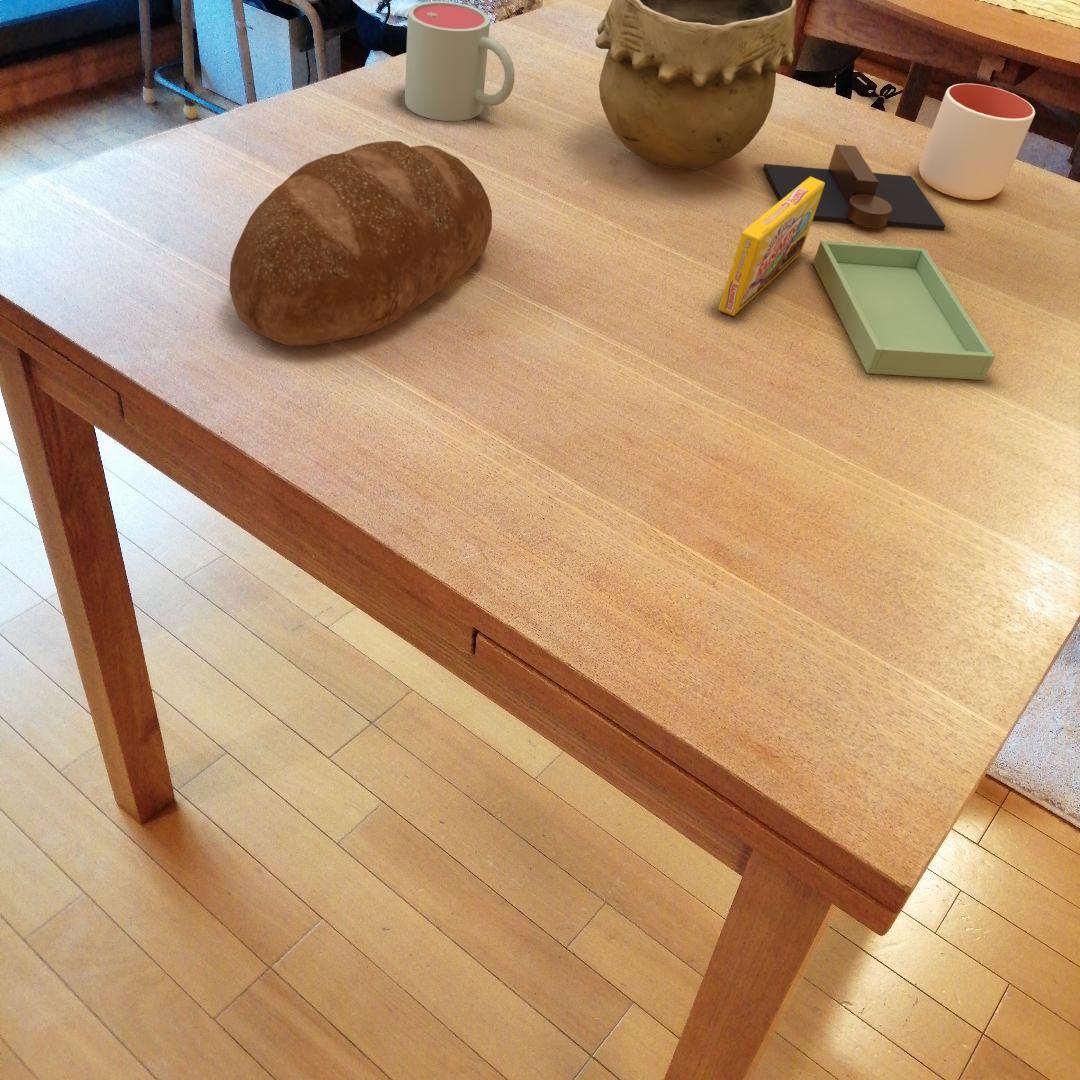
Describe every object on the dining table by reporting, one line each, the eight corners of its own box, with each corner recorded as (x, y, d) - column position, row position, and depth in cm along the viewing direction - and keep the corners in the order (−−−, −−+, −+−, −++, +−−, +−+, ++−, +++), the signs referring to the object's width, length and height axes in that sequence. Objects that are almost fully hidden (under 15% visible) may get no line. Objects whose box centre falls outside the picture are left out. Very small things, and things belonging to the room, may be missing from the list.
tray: (916, 270, 113) (925, 248, 111) (984, 380, 99) (995, 356, 97) (812, 263, 111) (820, 240, 109) (867, 373, 97) (876, 349, 96)
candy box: (736, 320, 101) (759, 239, 96) (716, 311, 102) (737, 230, 96) (803, 256, 112) (827, 180, 106) (784, 249, 113) (807, 173, 107)
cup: (1016, 196, 129) (1053, 112, 122) (962, 210, 125) (998, 125, 118) (951, 160, 135) (983, 78, 128) (898, 173, 130) (928, 89, 123)
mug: (388, 103, 127) (391, 13, 120) (435, 82, 133) (439, -5, 127) (486, 141, 123) (494, 50, 116) (529, 117, 129) (539, 29, 122)
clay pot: (723, 224, 115) (773, 27, 101) (547, 162, 121) (572, -32, 107) (786, 159, 129) (837, -22, 116) (625, 106, 135) (656, -72, 121)
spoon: (856, 171, 128) (864, 146, 125) (892, 229, 118) (902, 203, 116) (818, 168, 127) (826, 143, 125) (852, 226, 117) (861, 200, 115)
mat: (909, 180, 129) (911, 175, 128) (943, 230, 120) (945, 225, 120) (762, 168, 126) (764, 163, 126) (787, 218, 118) (788, 213, 117)
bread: (187, 312, 92) (172, 185, 84) (397, 195, 111) (400, 83, 103) (334, 384, 87) (332, 257, 79) (526, 249, 106) (540, 136, 99)
